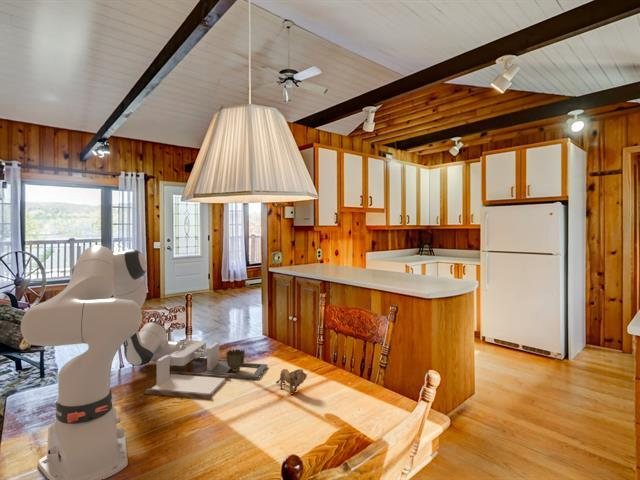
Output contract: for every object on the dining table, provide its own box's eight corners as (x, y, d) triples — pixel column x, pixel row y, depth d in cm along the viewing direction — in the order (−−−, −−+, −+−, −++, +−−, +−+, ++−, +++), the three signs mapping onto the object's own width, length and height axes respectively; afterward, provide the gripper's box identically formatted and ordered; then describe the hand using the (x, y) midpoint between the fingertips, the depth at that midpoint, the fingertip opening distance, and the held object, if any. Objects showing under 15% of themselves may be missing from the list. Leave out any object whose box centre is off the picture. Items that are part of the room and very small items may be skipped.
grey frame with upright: (267, 366, 151) (267, 343, 151) (257, 379, 138) (258, 354, 137) (218, 363, 154) (218, 340, 154) (203, 375, 141) (204, 350, 140)
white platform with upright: (225, 380, 136) (225, 355, 136) (209, 396, 122) (209, 368, 122) (171, 376, 139) (171, 351, 138) (150, 391, 125) (150, 364, 125)
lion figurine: (308, 393, 127) (309, 368, 126) (298, 398, 123) (298, 373, 122) (280, 381, 136) (281, 358, 136) (270, 386, 132) (270, 362, 132)
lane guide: (244, 364, 154) (244, 360, 154) (210, 399, 121) (210, 394, 121) (191, 360, 157) (191, 357, 157) (145, 393, 124) (145, 389, 124)
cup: (242, 374, 142) (243, 354, 142) (224, 374, 142) (224, 354, 142) (246, 367, 150) (246, 348, 150) (228, 367, 150) (228, 348, 149)
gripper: (160, 352, 139) (194, 355, 137) (187, 337, 159) (216, 339, 157) (160, 368, 139) (194, 371, 137) (187, 351, 160) (216, 353, 158)
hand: (206, 354), depth 148 cm, fingers closed
